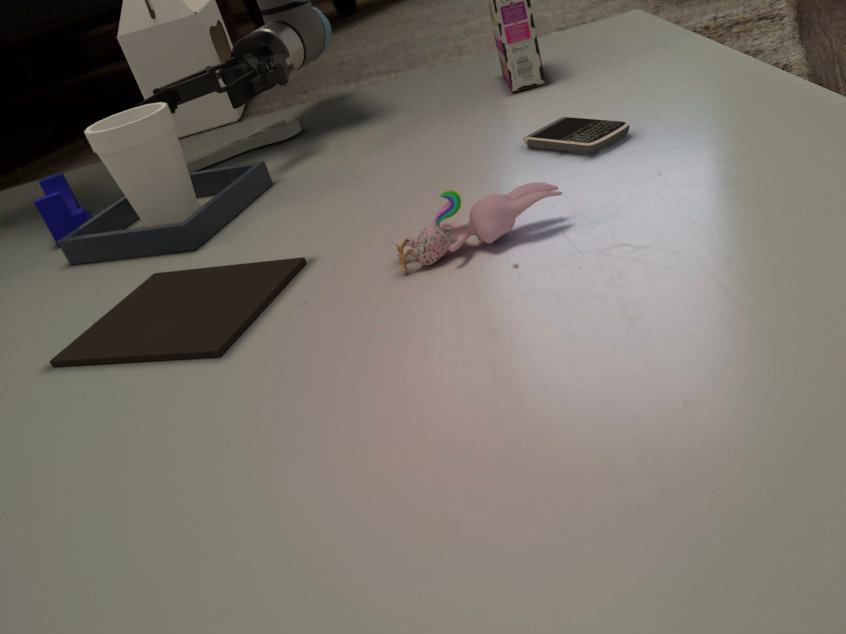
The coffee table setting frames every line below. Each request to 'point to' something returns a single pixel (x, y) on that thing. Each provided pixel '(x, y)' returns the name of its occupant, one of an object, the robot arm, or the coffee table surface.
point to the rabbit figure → (473, 221)
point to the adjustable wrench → (245, 144)
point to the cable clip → (60, 207)
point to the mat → (182, 314)
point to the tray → (112, 242)
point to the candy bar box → (516, 43)
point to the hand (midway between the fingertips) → (185, 106)
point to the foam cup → (146, 162)
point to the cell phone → (577, 135)
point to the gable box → (178, 54)
